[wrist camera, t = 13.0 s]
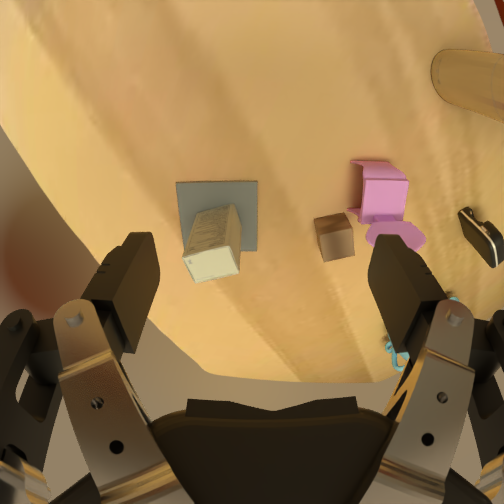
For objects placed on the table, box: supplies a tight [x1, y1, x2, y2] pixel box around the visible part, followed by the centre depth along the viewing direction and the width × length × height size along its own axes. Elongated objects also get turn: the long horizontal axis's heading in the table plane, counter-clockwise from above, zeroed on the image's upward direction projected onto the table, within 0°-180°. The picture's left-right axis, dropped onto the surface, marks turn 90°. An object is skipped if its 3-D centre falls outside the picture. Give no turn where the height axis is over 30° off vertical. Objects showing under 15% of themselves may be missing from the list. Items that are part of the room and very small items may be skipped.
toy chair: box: [347, 161, 426, 252], centre depth 37 cm, size 8×9×15 cm
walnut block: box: [314, 213, 355, 262], centre depth 46 cm, size 5×5×5 cm
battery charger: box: [458, 208, 504, 268], centre depth 41 cm, size 7×4×11 cm, turn 39°
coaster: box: [176, 181, 257, 251], centre depth 47 cm, size 12×12×1 cm
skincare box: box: [182, 204, 242, 283], centre depth 41 cm, size 6×4×12 cm
